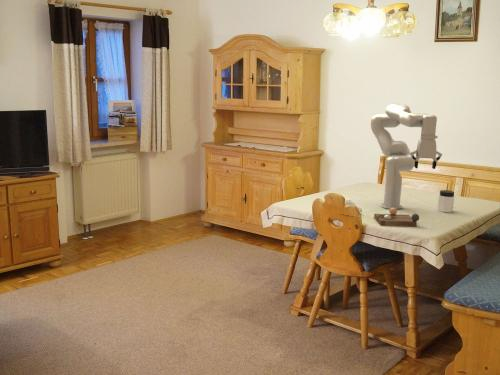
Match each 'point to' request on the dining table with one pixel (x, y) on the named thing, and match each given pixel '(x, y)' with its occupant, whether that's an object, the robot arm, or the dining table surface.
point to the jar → (446, 201)
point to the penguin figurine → (352, 203)
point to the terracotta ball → (393, 211)
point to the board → (395, 220)
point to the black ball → (415, 217)
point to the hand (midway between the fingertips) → (424, 168)
